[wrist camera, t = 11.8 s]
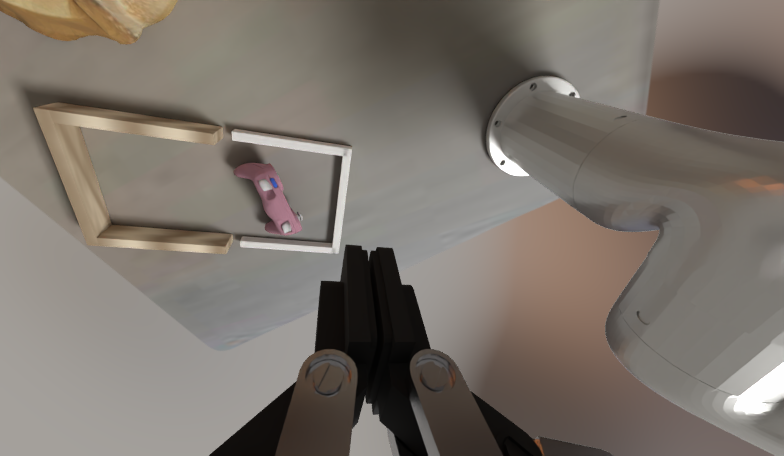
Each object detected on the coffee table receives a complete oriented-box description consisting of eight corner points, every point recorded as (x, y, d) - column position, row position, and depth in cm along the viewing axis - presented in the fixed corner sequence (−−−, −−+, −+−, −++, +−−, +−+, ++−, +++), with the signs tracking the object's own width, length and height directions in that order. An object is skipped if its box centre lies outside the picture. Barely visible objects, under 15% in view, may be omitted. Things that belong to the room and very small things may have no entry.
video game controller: (295, 216, 43) (313, 234, 38) (265, 231, 42) (279, 252, 36) (265, 151, 38) (281, 162, 33) (229, 165, 36) (239, 179, 31)
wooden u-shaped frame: (222, 126, 34) (213, 134, 32) (232, 241, 42) (226, 254, 40) (58, 101, 31) (32, 107, 28) (103, 231, 39) (87, 245, 36)
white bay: (351, 146, 37) (352, 149, 36) (338, 249, 45) (338, 253, 44) (234, 128, 34) (231, 131, 33) (242, 241, 42) (240, 246, 41)
